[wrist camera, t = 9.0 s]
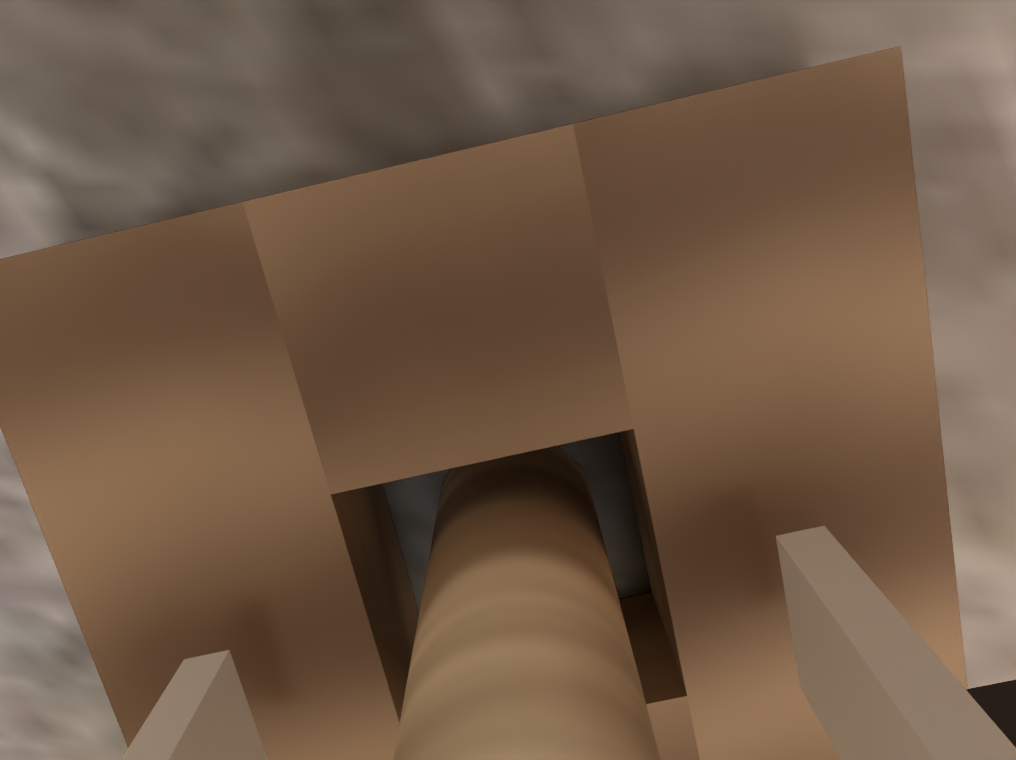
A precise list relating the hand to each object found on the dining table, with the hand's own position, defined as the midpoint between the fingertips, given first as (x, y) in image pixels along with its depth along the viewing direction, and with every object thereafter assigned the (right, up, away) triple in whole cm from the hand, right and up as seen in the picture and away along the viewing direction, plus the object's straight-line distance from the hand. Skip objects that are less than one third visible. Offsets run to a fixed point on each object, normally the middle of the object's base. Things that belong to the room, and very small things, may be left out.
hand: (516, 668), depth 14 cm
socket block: (0, +2, +6) cm, 6 cm away
